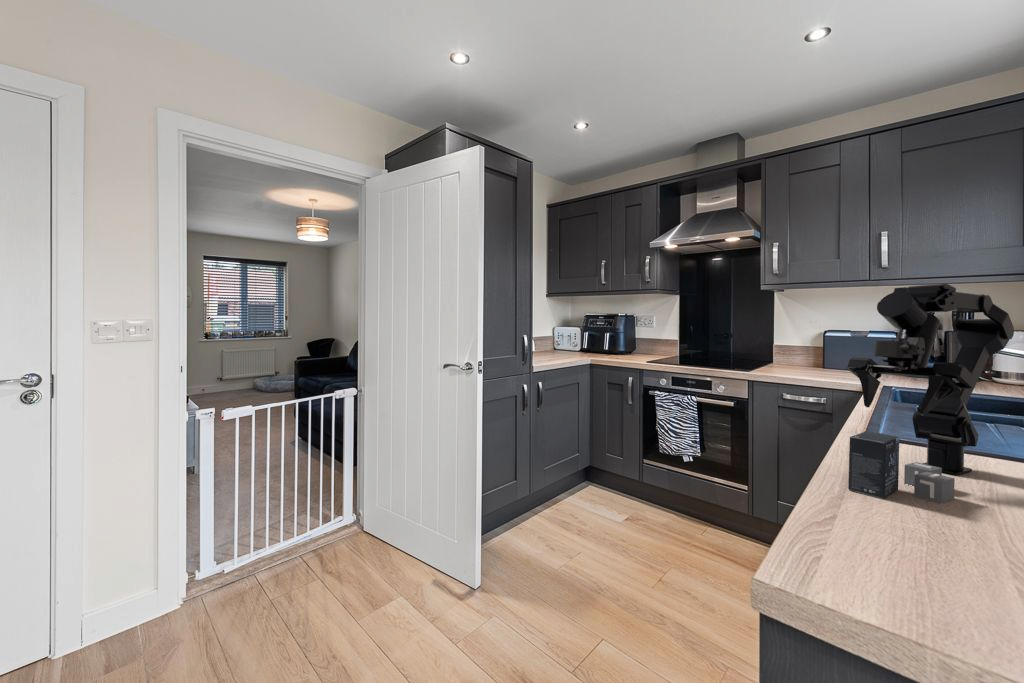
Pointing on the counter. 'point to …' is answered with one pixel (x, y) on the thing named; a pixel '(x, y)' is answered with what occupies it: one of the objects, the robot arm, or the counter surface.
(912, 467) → the marked cube one
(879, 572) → the counter surface
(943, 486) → the marked cube seven
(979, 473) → the counter surface
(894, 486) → the box
